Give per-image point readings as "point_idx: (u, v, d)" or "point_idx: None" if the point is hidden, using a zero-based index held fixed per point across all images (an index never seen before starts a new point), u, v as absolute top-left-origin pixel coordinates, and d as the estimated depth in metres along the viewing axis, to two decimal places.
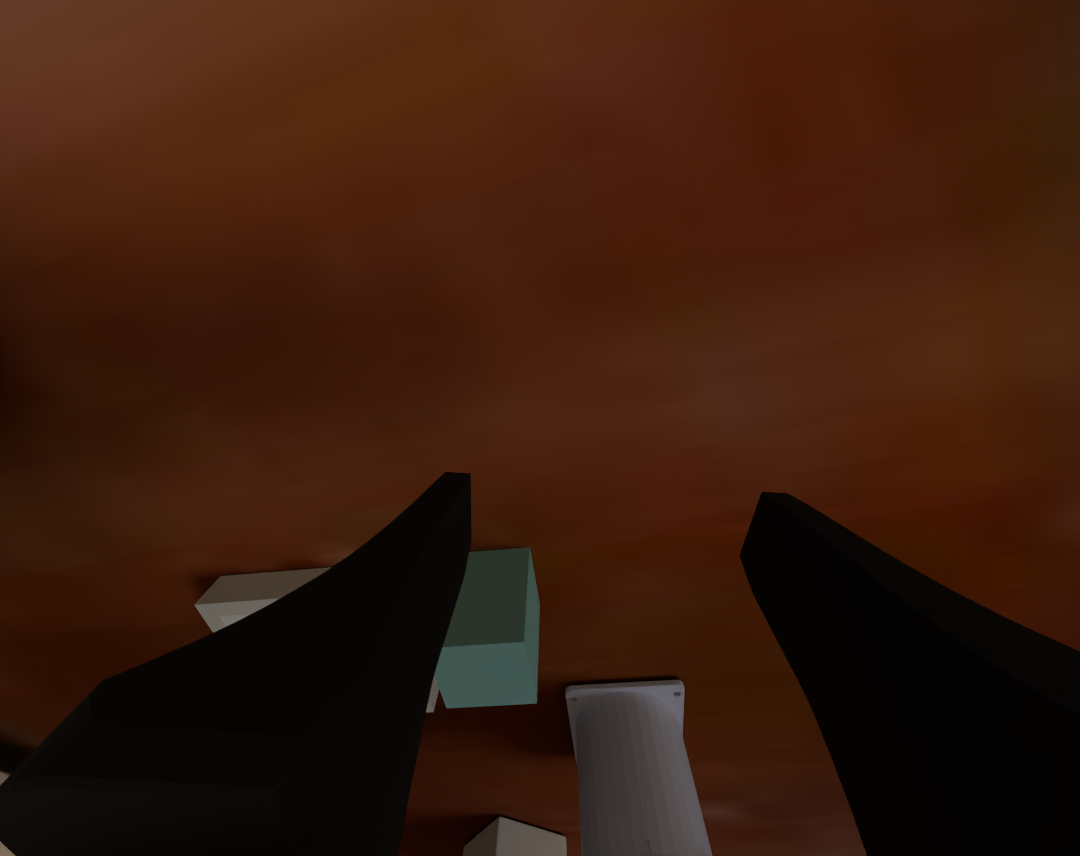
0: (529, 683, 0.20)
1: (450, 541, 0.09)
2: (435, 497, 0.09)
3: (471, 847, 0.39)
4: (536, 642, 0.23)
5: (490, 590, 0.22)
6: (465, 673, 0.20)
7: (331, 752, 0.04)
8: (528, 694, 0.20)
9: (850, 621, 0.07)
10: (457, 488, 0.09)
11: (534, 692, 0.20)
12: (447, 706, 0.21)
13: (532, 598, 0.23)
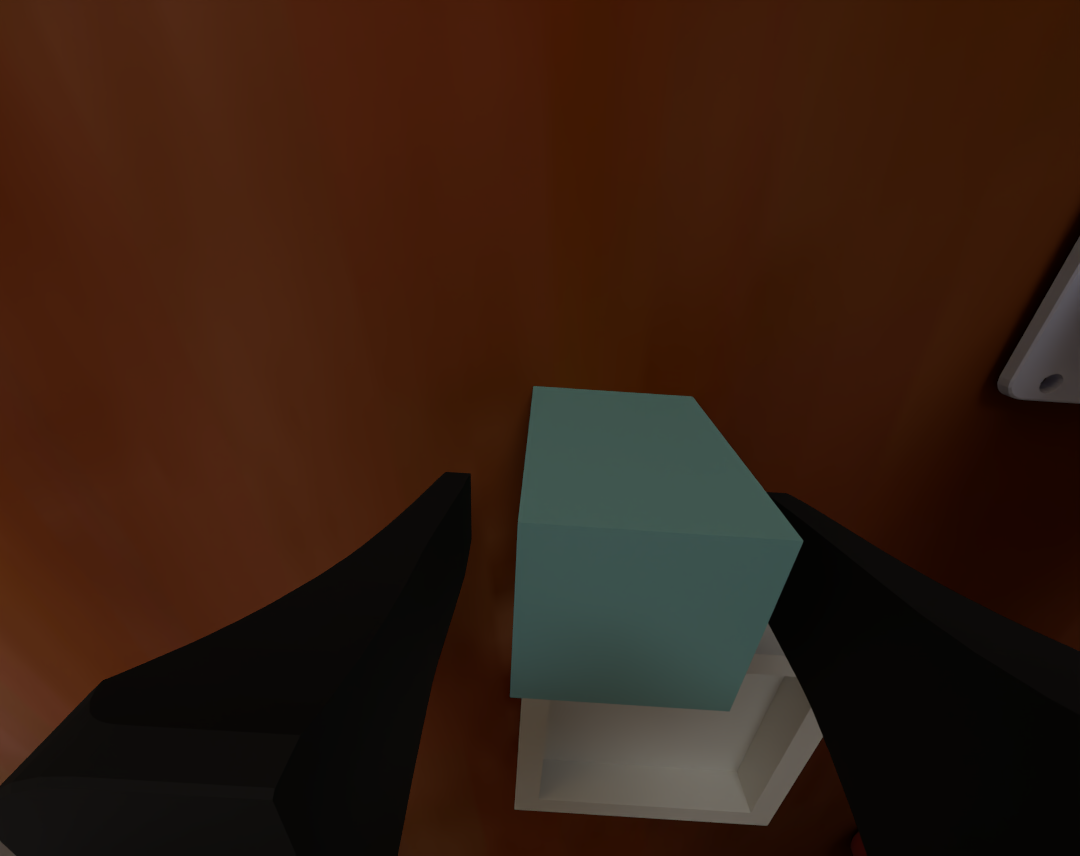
0: (703, 542, 0.07)
1: (450, 541, 0.09)
2: (435, 497, 0.09)
3: None
4: (702, 451, 0.09)
5: None
6: (613, 656, 0.08)
7: (331, 752, 0.04)
8: (750, 552, 0.07)
9: (850, 621, 0.07)
10: (457, 488, 0.09)
11: (752, 535, 0.07)
12: (723, 708, 0.09)
13: (604, 421, 0.10)
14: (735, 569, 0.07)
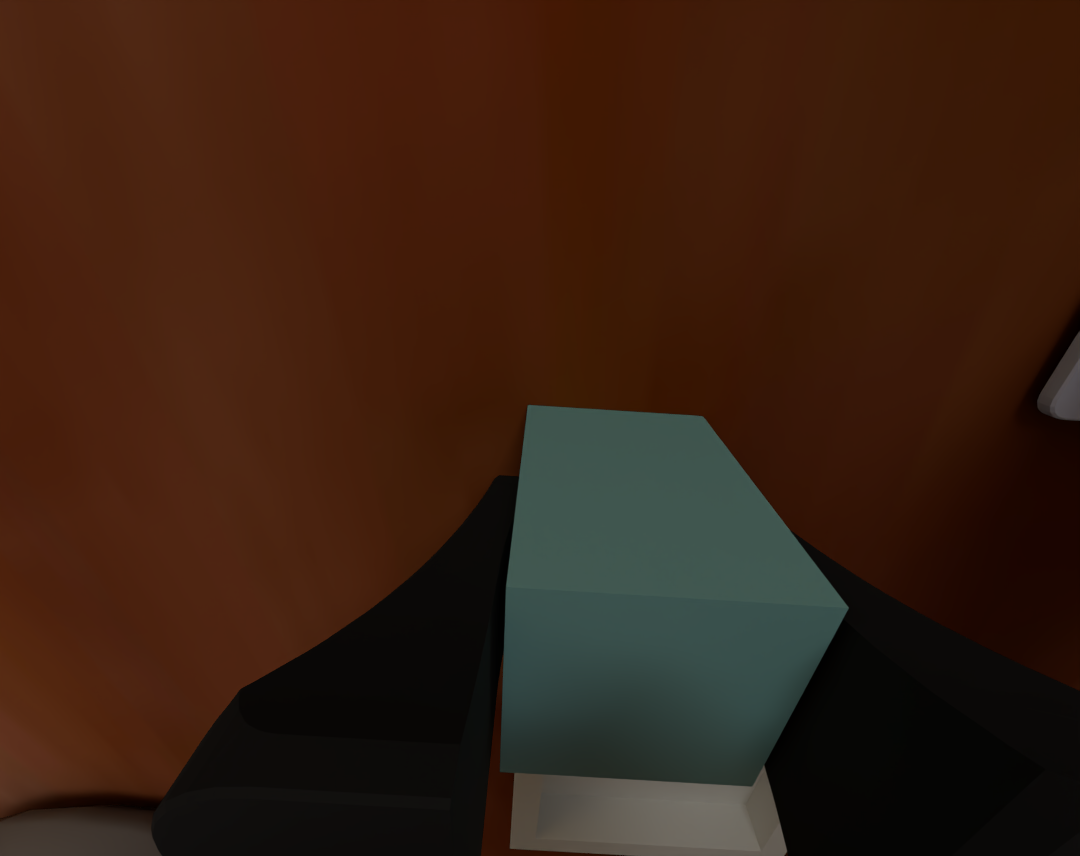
0: (728, 609, 0.06)
1: None
2: (497, 501, 0.09)
3: None
4: (718, 485, 0.08)
5: None
6: (619, 730, 0.07)
7: (467, 760, 0.04)
8: (783, 620, 0.06)
9: None
10: (516, 492, 0.09)
11: (787, 601, 0.06)
12: (745, 783, 0.08)
13: (607, 448, 0.09)
14: (765, 638, 0.06)
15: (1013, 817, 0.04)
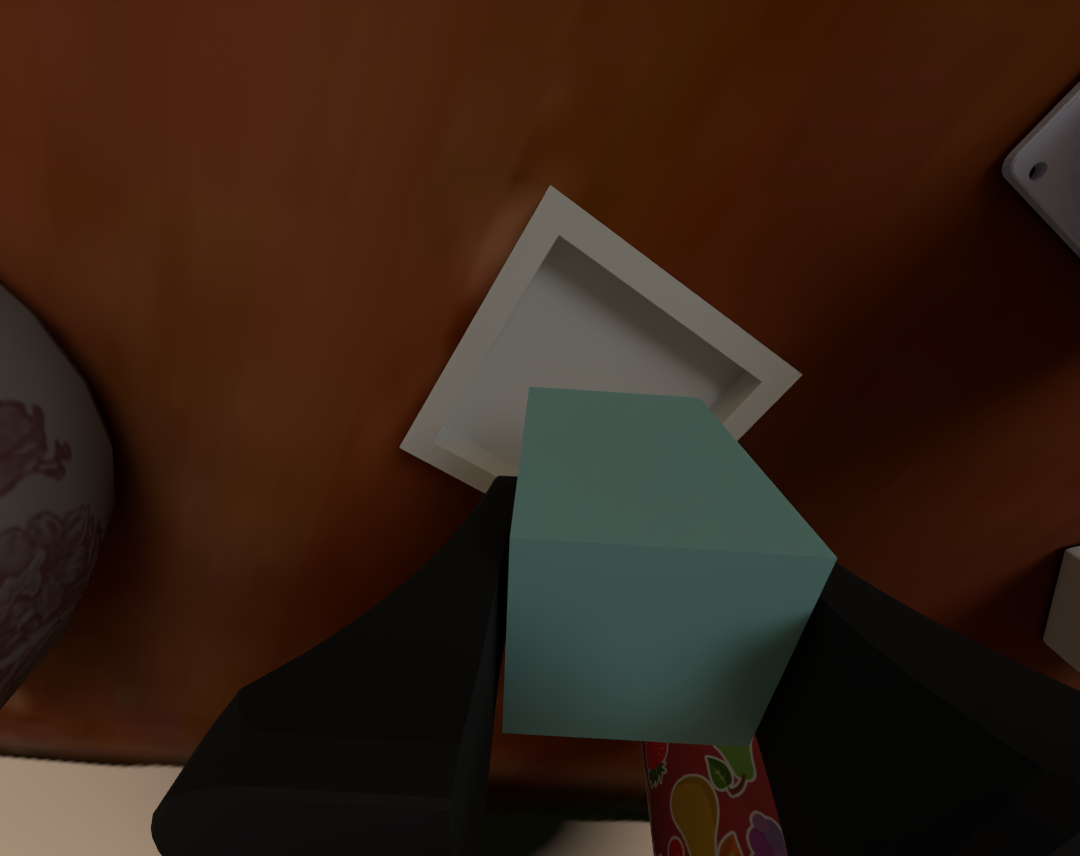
0: (721, 560, 0.06)
1: None
2: (497, 501, 0.09)
3: (1059, 627, 0.23)
4: (714, 455, 0.08)
5: None
6: (619, 687, 0.07)
7: (467, 760, 0.04)
8: (776, 571, 0.06)
9: None
10: None
11: (778, 552, 0.06)
12: (741, 743, 0.08)
13: (606, 423, 0.09)
14: (758, 590, 0.06)
15: (1012, 818, 0.04)
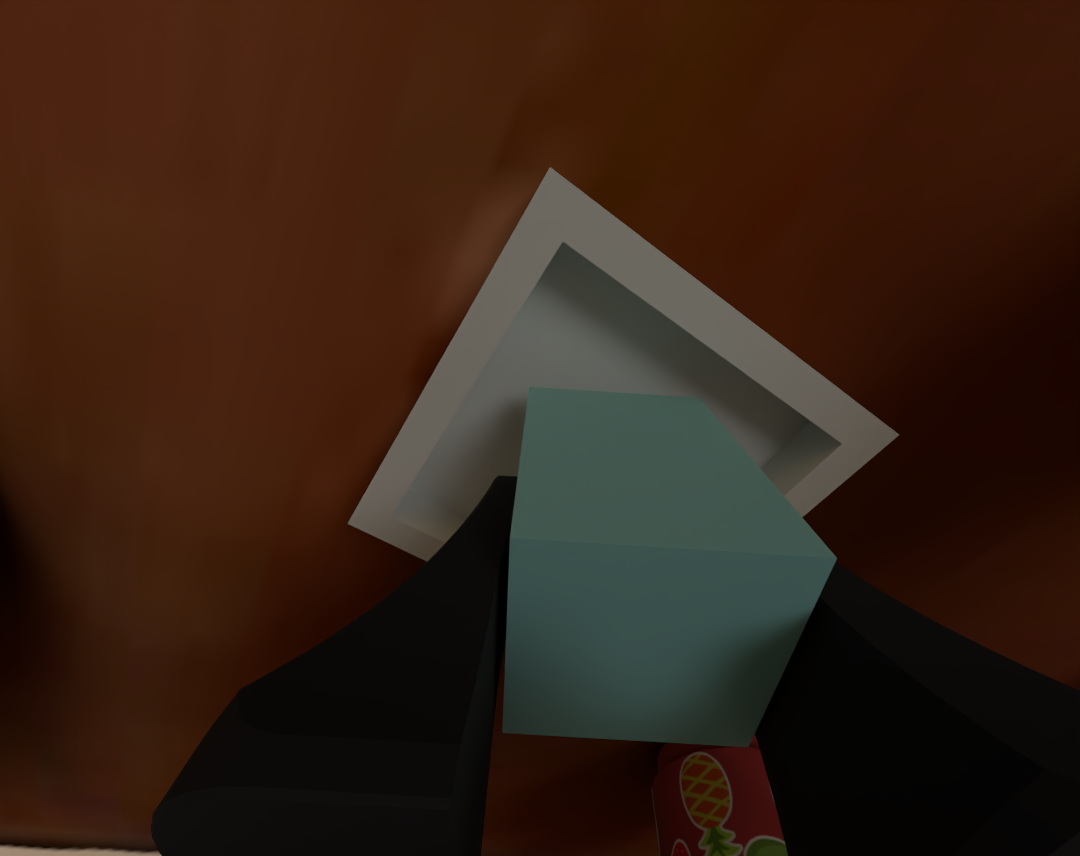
0: (722, 560, 0.06)
1: None
2: (497, 501, 0.09)
3: None
4: (713, 456, 0.08)
5: None
6: (619, 688, 0.07)
7: (467, 760, 0.04)
8: (775, 571, 0.06)
9: None
10: None
11: (778, 552, 0.06)
12: (741, 743, 0.08)
13: (606, 423, 0.09)
14: (758, 590, 0.06)
15: (1012, 818, 0.04)
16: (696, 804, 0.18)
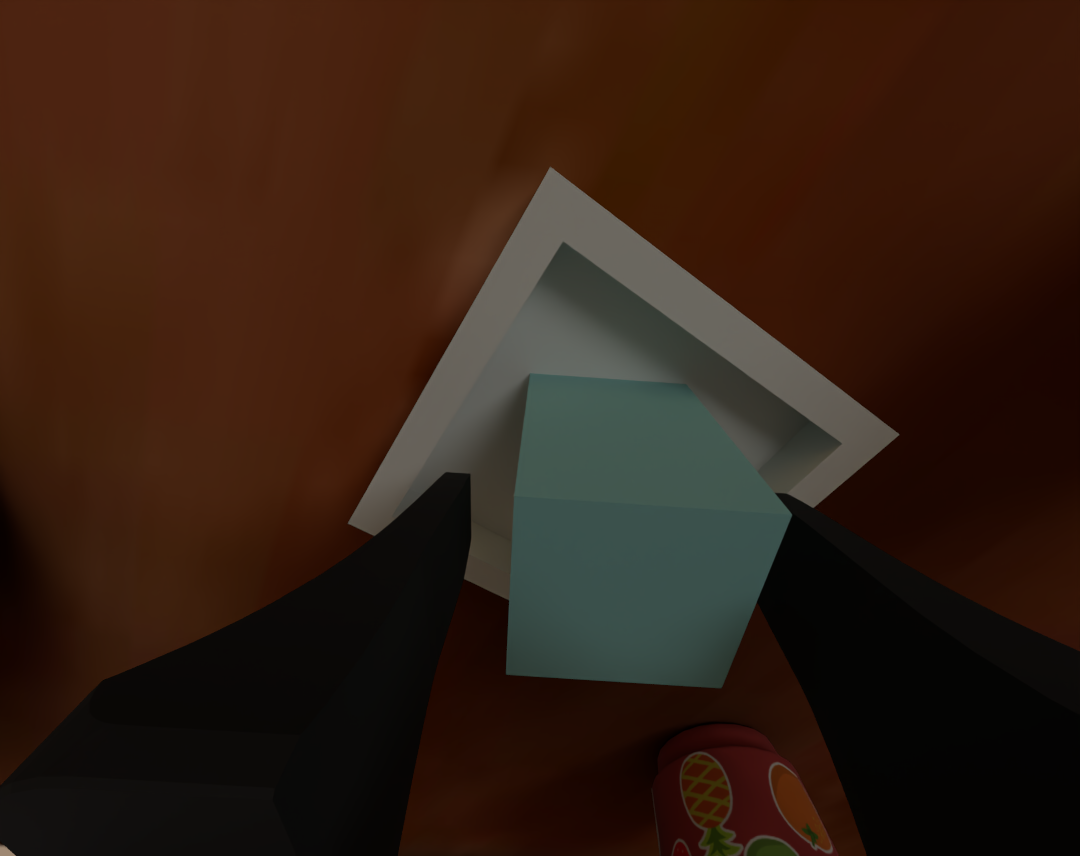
0: (694, 516, 0.07)
1: (450, 541, 0.09)
2: (435, 497, 0.09)
3: None
4: (694, 433, 0.09)
5: None
6: (607, 632, 0.08)
7: (331, 752, 0.04)
8: (740, 526, 0.07)
9: (850, 621, 0.07)
10: (457, 488, 0.09)
11: (742, 509, 0.07)
12: (715, 685, 0.09)
13: (600, 405, 0.10)
14: (726, 543, 0.07)
15: None
16: (696, 803, 0.18)
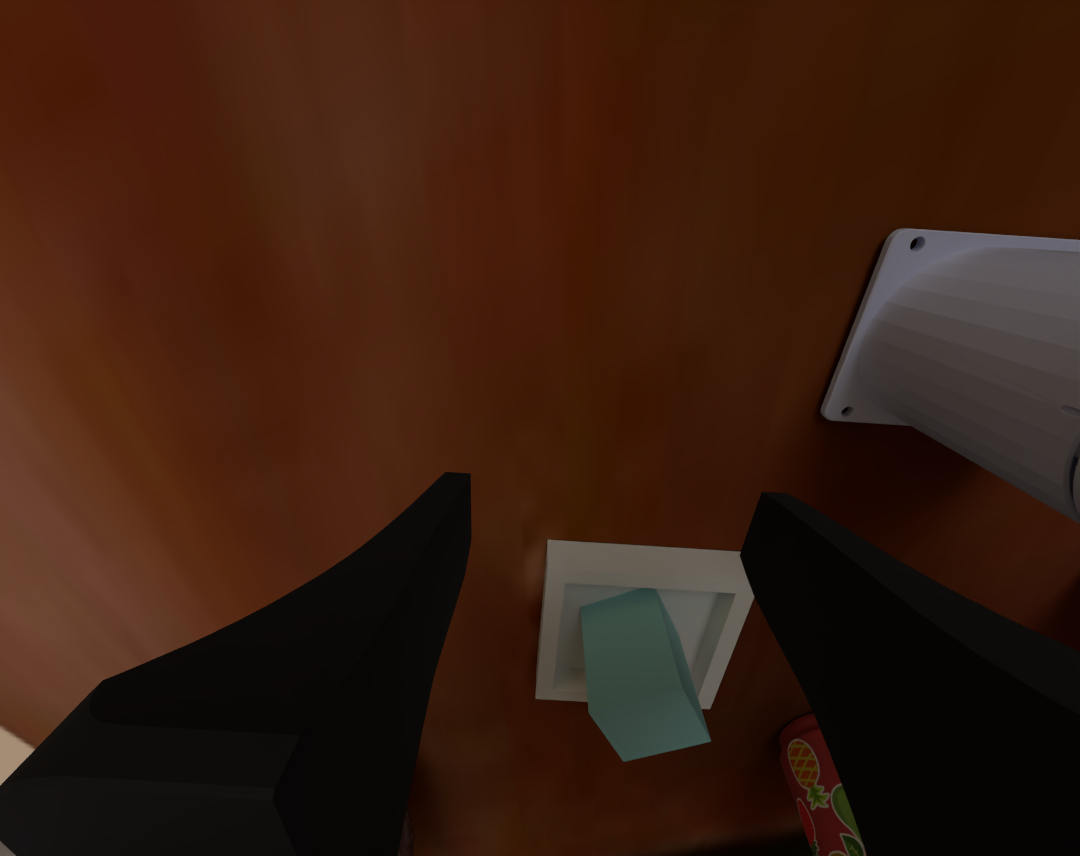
0: (650, 698, 0.19)
1: (450, 541, 0.09)
2: (435, 497, 0.09)
3: None
4: (653, 637, 0.21)
5: None
6: (650, 738, 0.21)
7: (331, 752, 0.04)
8: (668, 696, 0.19)
9: (850, 621, 0.07)
10: (457, 488, 0.09)
11: (665, 691, 0.19)
12: (708, 741, 0.21)
13: (613, 628, 0.23)
14: (668, 701, 0.19)
15: None
16: (800, 773, 0.28)
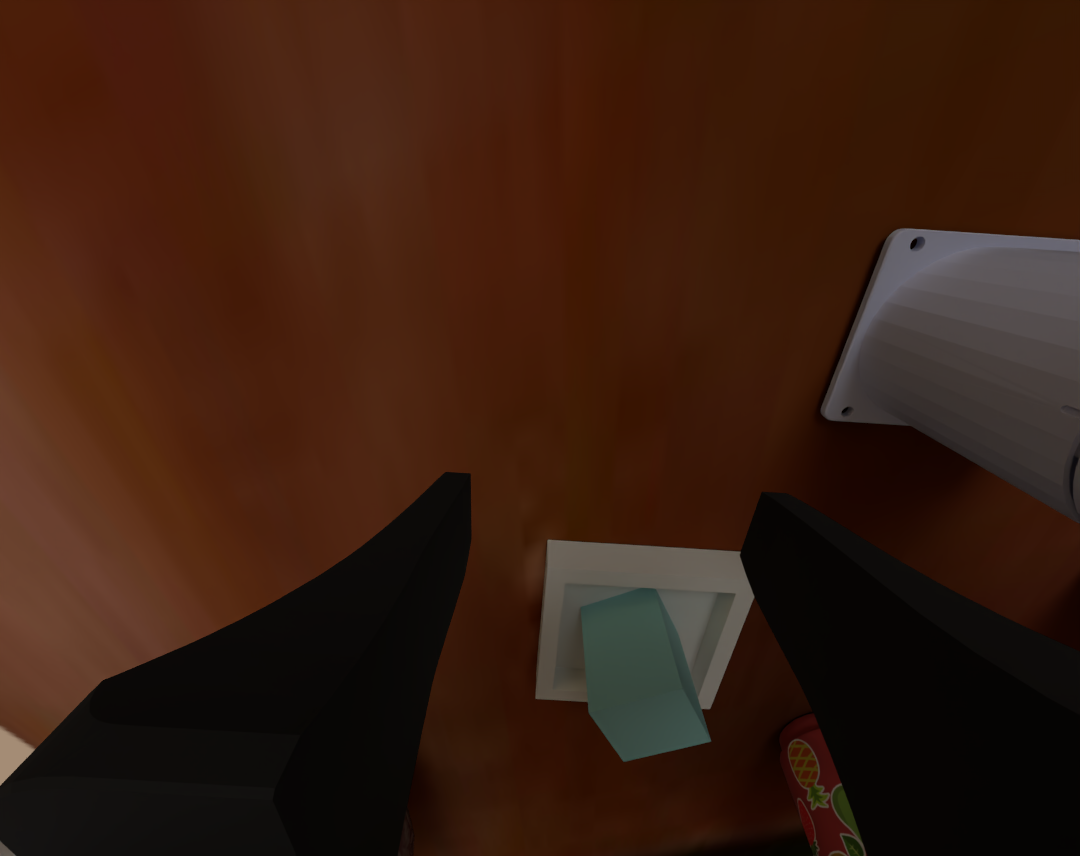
0: (650, 698, 0.19)
1: (450, 541, 0.09)
2: (435, 497, 0.09)
3: None
4: (653, 637, 0.21)
5: None
6: (650, 738, 0.21)
7: (331, 752, 0.04)
8: (668, 696, 0.19)
9: (850, 621, 0.07)
10: (457, 488, 0.09)
11: (665, 691, 0.19)
12: (708, 741, 0.21)
13: (613, 628, 0.23)
14: (668, 701, 0.19)
15: None
16: (800, 774, 0.28)
